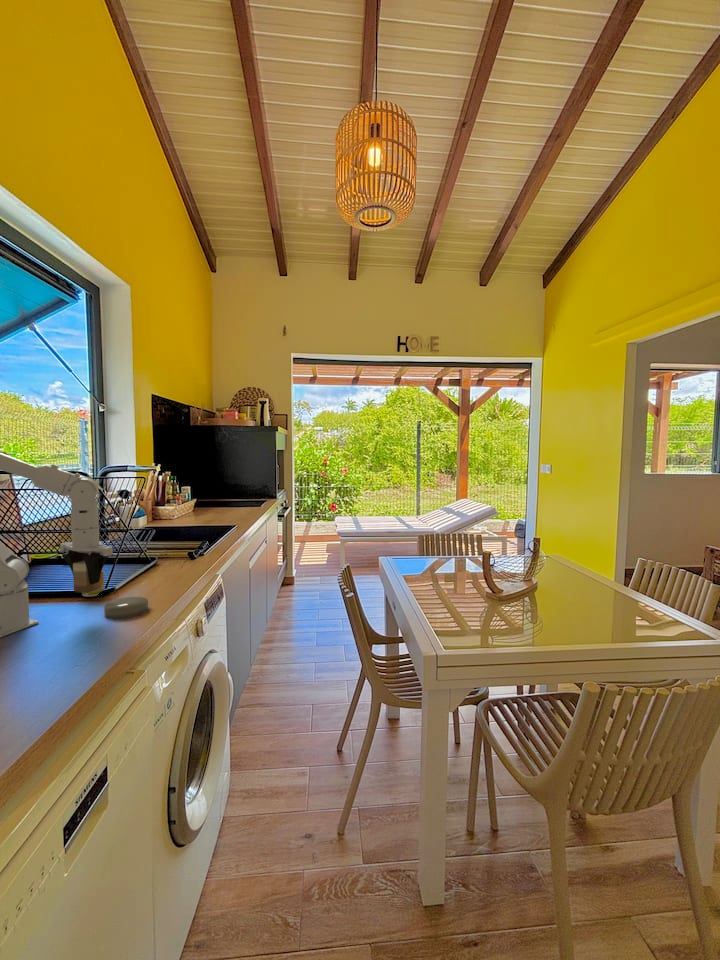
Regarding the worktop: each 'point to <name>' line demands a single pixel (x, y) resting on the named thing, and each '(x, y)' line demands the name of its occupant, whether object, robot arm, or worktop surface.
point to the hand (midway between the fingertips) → (87, 581)
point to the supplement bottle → (96, 592)
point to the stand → (126, 607)
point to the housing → (83, 578)
